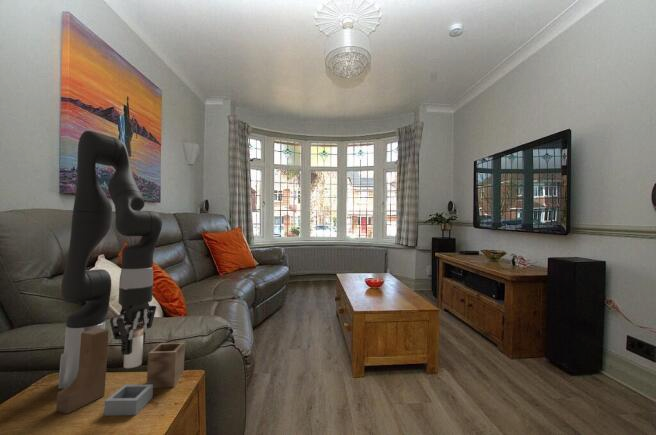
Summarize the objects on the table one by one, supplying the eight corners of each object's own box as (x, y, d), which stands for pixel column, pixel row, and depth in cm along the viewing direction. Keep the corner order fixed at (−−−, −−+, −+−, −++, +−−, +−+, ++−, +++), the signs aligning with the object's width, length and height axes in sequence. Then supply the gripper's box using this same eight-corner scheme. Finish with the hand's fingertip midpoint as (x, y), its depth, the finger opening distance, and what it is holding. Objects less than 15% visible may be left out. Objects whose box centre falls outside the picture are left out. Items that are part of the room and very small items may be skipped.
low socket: (103, 415, 71) (104, 400, 71) (123, 397, 78) (124, 384, 78) (135, 414, 71) (136, 400, 71) (152, 397, 79) (153, 384, 79)
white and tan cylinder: (121, 369, 73) (123, 333, 73) (125, 362, 76) (127, 328, 77) (140, 366, 74) (141, 331, 75) (143, 360, 78) (145, 326, 78)
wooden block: (67, 414, 71) (72, 340, 72) (55, 411, 72) (60, 337, 73) (105, 395, 79) (109, 329, 80) (93, 392, 80) (98, 327, 82)
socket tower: (146, 388, 83) (148, 353, 84) (158, 375, 91) (159, 343, 91) (174, 386, 84) (175, 352, 85) (183, 374, 92) (185, 342, 92)
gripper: (142, 280, 84) (139, 340, 83) (100, 289, 70) (96, 361, 69) (166, 280, 83) (164, 341, 82) (129, 290, 69) (125, 363, 68)
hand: (133, 350), depth 75 cm, fingers closed on white and tan cylinder, 4 cm apart
